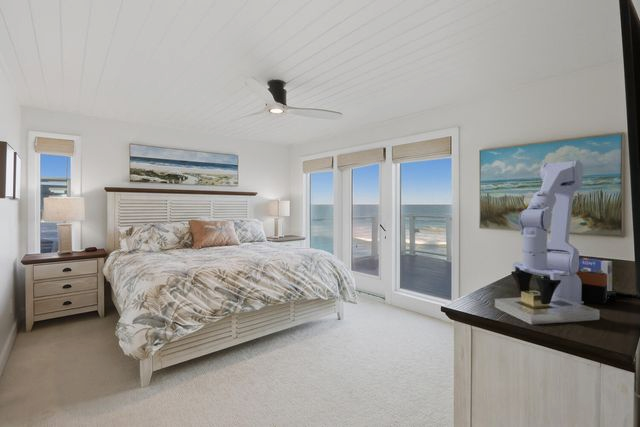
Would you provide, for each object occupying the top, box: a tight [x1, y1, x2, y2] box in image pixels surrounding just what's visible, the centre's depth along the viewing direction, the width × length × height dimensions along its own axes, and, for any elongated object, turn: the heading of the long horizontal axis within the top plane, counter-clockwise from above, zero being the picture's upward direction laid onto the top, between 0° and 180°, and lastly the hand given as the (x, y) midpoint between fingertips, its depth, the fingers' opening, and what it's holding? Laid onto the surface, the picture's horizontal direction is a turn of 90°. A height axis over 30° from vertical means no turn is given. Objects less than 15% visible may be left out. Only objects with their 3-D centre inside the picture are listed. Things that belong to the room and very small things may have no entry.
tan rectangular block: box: [520, 289, 548, 310], centre depth 90 cm, size 4×4×6 cm
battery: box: [576, 269, 608, 305], centre depth 101 cm, size 4×7×10 cm, turn 39°
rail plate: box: [494, 295, 600, 325], centre depth 91 cm, size 20×14×3 cm
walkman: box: [579, 257, 613, 291], centre depth 107 cm, size 8×3×12 cm, turn 28°
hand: (534, 299), depth 90 cm, fingers open, 7 cm apart
